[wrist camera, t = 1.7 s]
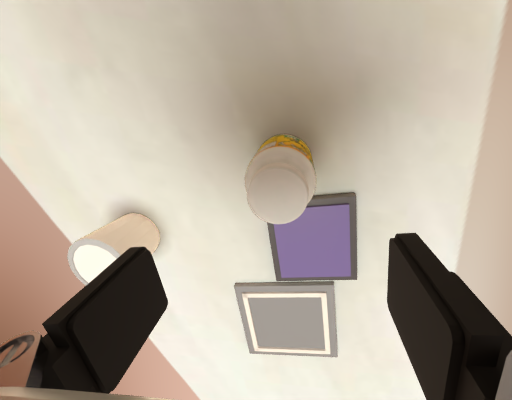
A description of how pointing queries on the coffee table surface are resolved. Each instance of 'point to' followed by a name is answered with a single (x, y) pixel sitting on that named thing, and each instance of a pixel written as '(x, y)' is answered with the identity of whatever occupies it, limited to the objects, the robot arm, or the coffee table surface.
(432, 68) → the coffee table surface
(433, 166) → the coffee table surface
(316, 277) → the ink pad
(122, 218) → the white short cylinder
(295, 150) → the supplement bottle
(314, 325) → the grey square tile
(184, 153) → the coffee table surface
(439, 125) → the coffee table surface
